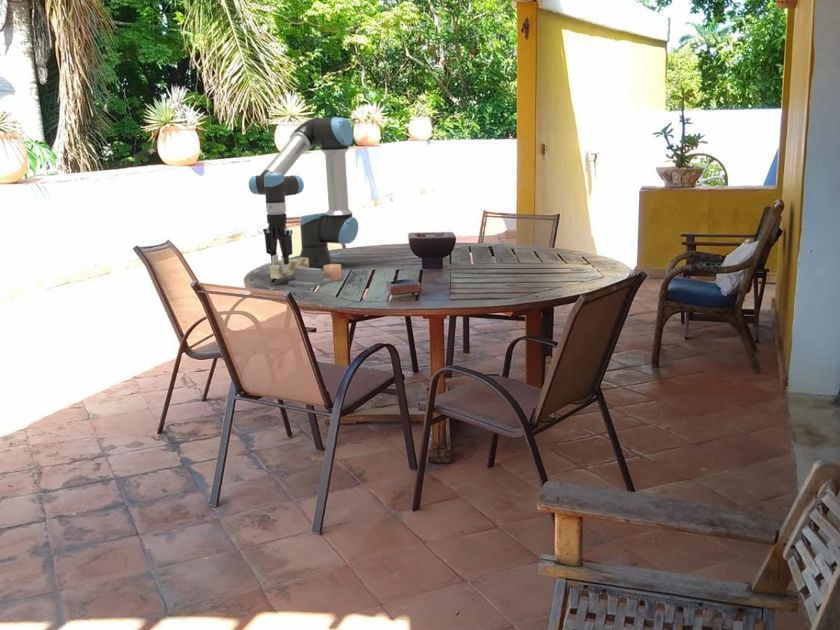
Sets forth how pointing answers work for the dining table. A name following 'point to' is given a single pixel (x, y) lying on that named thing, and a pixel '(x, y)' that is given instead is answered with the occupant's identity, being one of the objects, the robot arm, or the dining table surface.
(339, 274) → the orange-brown rounded piece
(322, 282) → the fulcrum
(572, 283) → the dining table surface
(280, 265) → the bar
